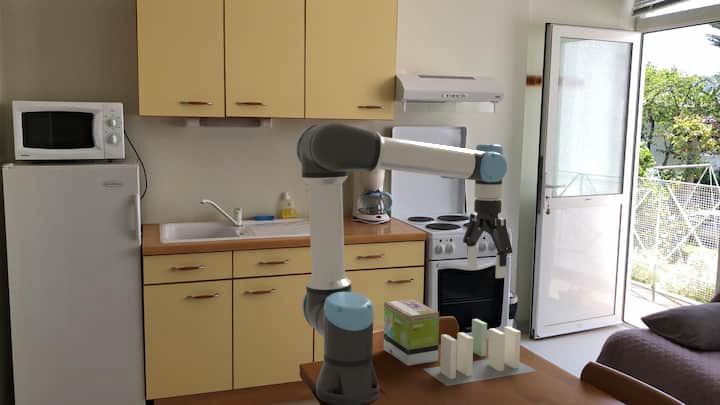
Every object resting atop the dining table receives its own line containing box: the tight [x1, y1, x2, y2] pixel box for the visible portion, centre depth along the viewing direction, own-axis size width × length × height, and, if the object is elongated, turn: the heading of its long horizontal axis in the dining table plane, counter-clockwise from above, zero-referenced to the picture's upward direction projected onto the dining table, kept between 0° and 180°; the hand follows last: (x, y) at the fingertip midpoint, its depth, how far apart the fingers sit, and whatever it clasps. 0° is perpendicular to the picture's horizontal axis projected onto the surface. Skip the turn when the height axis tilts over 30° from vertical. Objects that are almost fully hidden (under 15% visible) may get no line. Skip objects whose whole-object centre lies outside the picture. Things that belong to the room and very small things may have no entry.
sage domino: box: [471, 318, 488, 358], centre depth 171 cm, size 2×5×10 cm, turn 24°
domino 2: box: [456, 331, 474, 376], centre depth 156 cm, size 2×5×10 cm, turn 23°
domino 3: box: [487, 327, 505, 371], centre depth 160 cm, size 2×5×10 cm, turn 23°
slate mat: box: [422, 358, 538, 387], centre depth 159 cm, size 28×12×1 cm, turn 113°
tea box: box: [383, 298, 440, 366], centre depth 169 cm, size 15×10×15 cm
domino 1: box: [439, 334, 457, 379], centre depth 154 cm, size 2×5×10 cm, turn 23°
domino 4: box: [503, 326, 522, 369], centre depth 162 cm, size 2×5×10 cm, turn 23°
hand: (485, 272), depth 171 cm, fingers open, 13 cm apart
